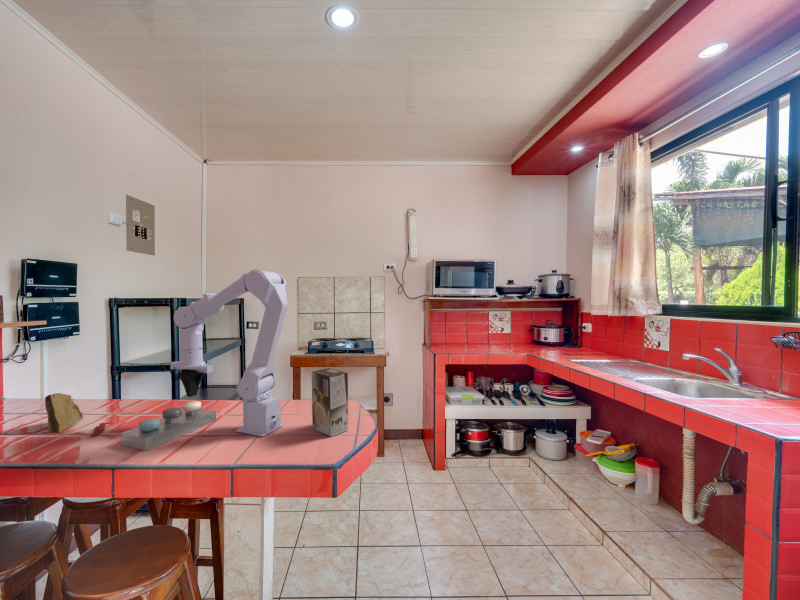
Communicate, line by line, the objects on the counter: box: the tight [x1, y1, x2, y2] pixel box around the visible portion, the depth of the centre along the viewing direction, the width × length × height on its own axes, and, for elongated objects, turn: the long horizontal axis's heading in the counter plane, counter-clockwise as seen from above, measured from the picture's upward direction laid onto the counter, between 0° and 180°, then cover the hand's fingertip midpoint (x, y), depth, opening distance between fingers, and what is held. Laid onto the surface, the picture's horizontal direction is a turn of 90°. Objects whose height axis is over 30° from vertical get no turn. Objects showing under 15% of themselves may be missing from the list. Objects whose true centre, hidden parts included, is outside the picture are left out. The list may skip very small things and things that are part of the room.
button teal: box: [138, 418, 161, 433], centre depth 89 cm, size 4×4×4 cm
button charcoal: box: [161, 407, 183, 424], centre depth 95 cm, size 4×4×4 cm
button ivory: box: [182, 400, 202, 416], centre depth 100 cm, size 4×4×4 cm
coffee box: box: [311, 367, 349, 437], centre depth 97 cm, size 9×6×16 cm
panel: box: [120, 408, 217, 452], centre depth 95 cm, size 9×20×3 cm, turn 159°
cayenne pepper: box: [88, 421, 113, 439], centre depth 96 cm, size 12×5×2 cm, turn 5°
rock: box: [44, 392, 84, 433], centre depth 100 cm, size 11×9×10 cm
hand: (192, 395), depth 100 cm, fingers closed
